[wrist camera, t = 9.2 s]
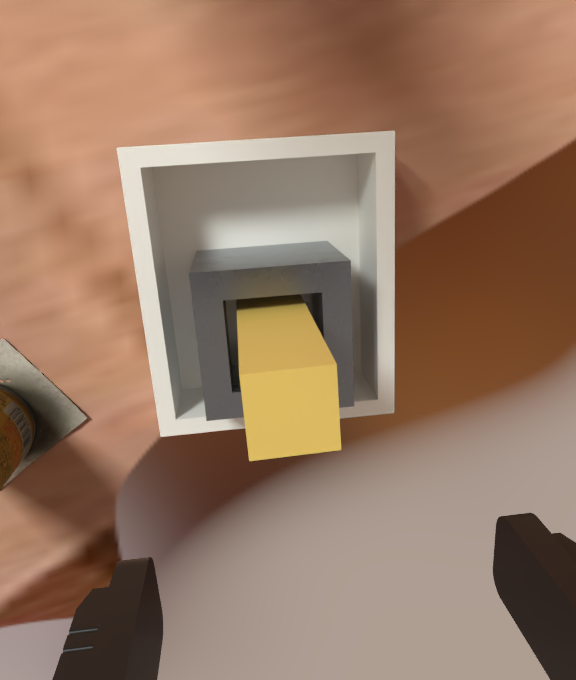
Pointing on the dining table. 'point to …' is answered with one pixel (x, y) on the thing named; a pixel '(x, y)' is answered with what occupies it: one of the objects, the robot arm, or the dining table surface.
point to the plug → (286, 379)
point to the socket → (266, 281)
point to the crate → (259, 230)
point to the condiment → (29, 413)
